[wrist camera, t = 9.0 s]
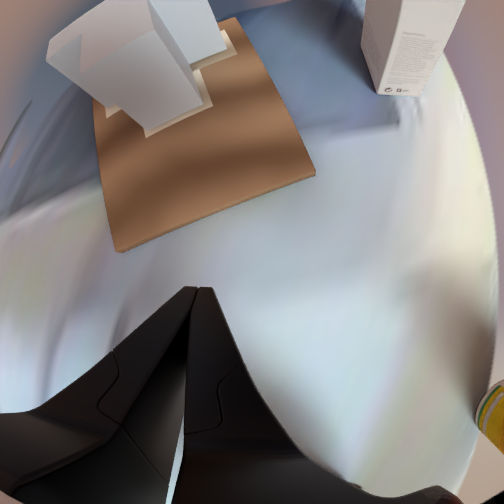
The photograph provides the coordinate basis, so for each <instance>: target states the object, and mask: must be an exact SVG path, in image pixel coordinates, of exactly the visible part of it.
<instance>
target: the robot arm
mask: <svg viewBox="0 0 504 504" xmlns="http://www.w3.org/2000/svg"><path fill="white" fill-rule="evenodd" d="M183 414H184V446H183V457H182V462H181V466H180V470H179V474H178V478H177V482H176V486H175V490H174V494H173V498H172V502H171V504H463V503H462V501H461V500H460V499H459V498H458V497H457V496H455V495H454V494H452V493H451V492H449V491H447V490H446V489H444V488H443V487H441V486H438V485H436V486H431V487H428V488H425V489H422V490H419V491H416V492H413V493H410V494H407V495H404V496H400V497H394V498H390V497H380V496H375V495H372V494H370V493H367V492H365V491H363V490H361V489H360V488H358V487H356V486H354V485H352V484H351V483H349V482H347V481H345V480H344V479H342V478H340V477H339V476H337V475H335V474H334V473H332V472H330V471H329V470H327V469H326V468H324V467H322V466H321V465H319V464H318V463H316V462H315V461H313V460H312V459H310V458H309V457H308V456H307V455H305V454H304V453H303V452H302V451H301V450H300V449H299V447H298V446H297V445H296V444H295V443H294V441H293V440H292V439H291V438H290V436H289V435H288V433H287V432H286V431H285V429H284V428H283V427H282V425H281V424H280V422H279V421H278V420H277V418H276V417H275V415H274V414H273V412H272V411H271V410H270V408H269V407H268V405H267V404H266V402H265V401H264V399H263V397H262V396H261V394H260V393H259V391H258V389H257V388H256V386H255V384H254V382H253V380H252V378H251V376H250V374H249V372H248V370H247V367H246V365H245V363H244V361H243V359H242V356H241V354H240V352H239V349H238V347H237V345H236V342H235V340H234V338H233V335H232V333H231V331H230V328H229V326H228V324H227V321H226V319H225V316H224V314H223V312H222V309H221V307H220V304H219V302H218V299H217V297H216V294H215V292H214V289H213V288H212V287H199V289H198V287H192V286H185V287H183V288H182V289H181V290H180V291H179V292H177V293H176V294H175V295H174V296H173V297H172V298H171V299H169V300H168V301H167V302H166V303H165V304H164V305H163V306H161V307H160V308H159V309H158V310H157V311H156V312H155V313H153V314H152V315H151V316H150V317H149V318H148V319H147V320H145V321H144V322H143V323H142V324H141V325H140V326H139V327H138V328H136V329H135V330H134V331H133V332H132V333H131V334H130V335H129V336H127V337H126V338H125V339H124V340H123V341H122V342H121V343H120V344H118V345H117V346H116V347H115V348H114V349H113V351H111V352H109V353H108V354H107V355H106V356H105V357H104V358H103V359H102V360H100V361H99V362H98V363H97V364H96V365H95V366H93V367H92V368H91V369H90V370H89V371H87V372H86V373H85V374H83V375H82V376H81V377H79V378H78V379H77V380H76V381H74V382H73V383H71V384H70V385H69V386H67V387H66V388H65V389H63V390H62V391H60V392H59V393H58V394H56V395H55V396H54V397H52V398H51V399H49V400H48V401H47V402H45V403H44V404H42V405H41V406H39V407H37V408H35V409H32V410H30V411H26V412H19V413H0V504H165V503H166V498H167V493H168V487H169V485H168V484H169V482H170V477H171V472H172V467H173V462H174V457H175V452H176V447H177V442H178V437H179V433H180V428H181V423H182V419H183ZM481 504H504V490H503V491H501V492H499V493H498V494H496V495H494V496H493V497H491V498H489V499H488V500H486V501H484V502H483V503H481Z"/></svg>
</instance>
